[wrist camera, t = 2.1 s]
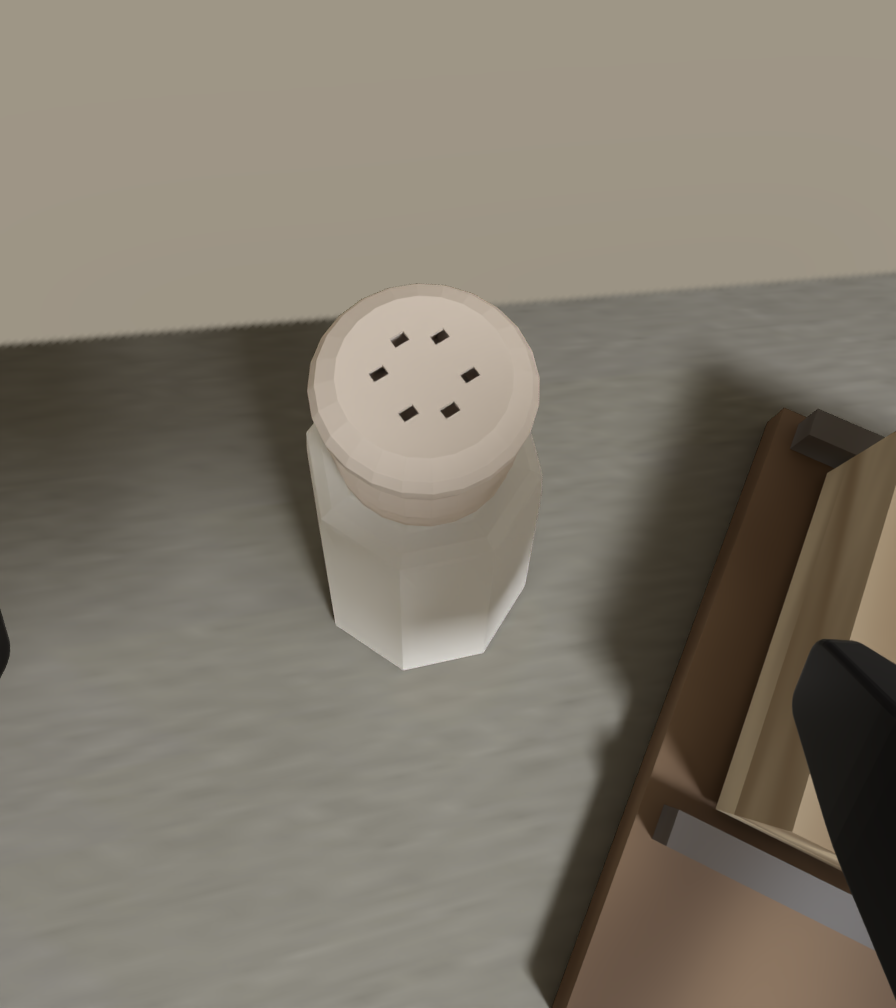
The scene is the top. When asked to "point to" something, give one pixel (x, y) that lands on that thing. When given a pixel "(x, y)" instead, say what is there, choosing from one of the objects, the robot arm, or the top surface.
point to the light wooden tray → (803, 621)
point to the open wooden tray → (698, 784)
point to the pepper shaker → (424, 470)
